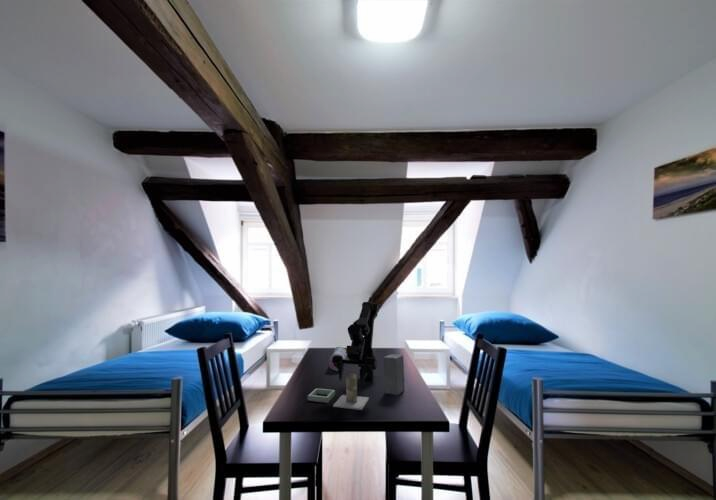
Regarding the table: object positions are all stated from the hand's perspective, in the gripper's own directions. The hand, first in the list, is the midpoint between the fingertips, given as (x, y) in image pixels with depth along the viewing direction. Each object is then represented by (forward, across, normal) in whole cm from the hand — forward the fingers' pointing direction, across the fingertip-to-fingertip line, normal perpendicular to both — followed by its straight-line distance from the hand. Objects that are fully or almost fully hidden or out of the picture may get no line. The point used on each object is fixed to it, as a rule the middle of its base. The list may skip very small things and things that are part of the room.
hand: (350, 381), depth 138 cm
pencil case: (-28, -21, +42) cm, 55 cm away
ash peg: (+5, 0, +7) cm, 9 cm away
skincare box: (-6, +16, +19) cm, 25 cm away
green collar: (+4, -14, +9) cm, 17 cm away
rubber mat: (+6, 0, +7) cm, 9 cm away
